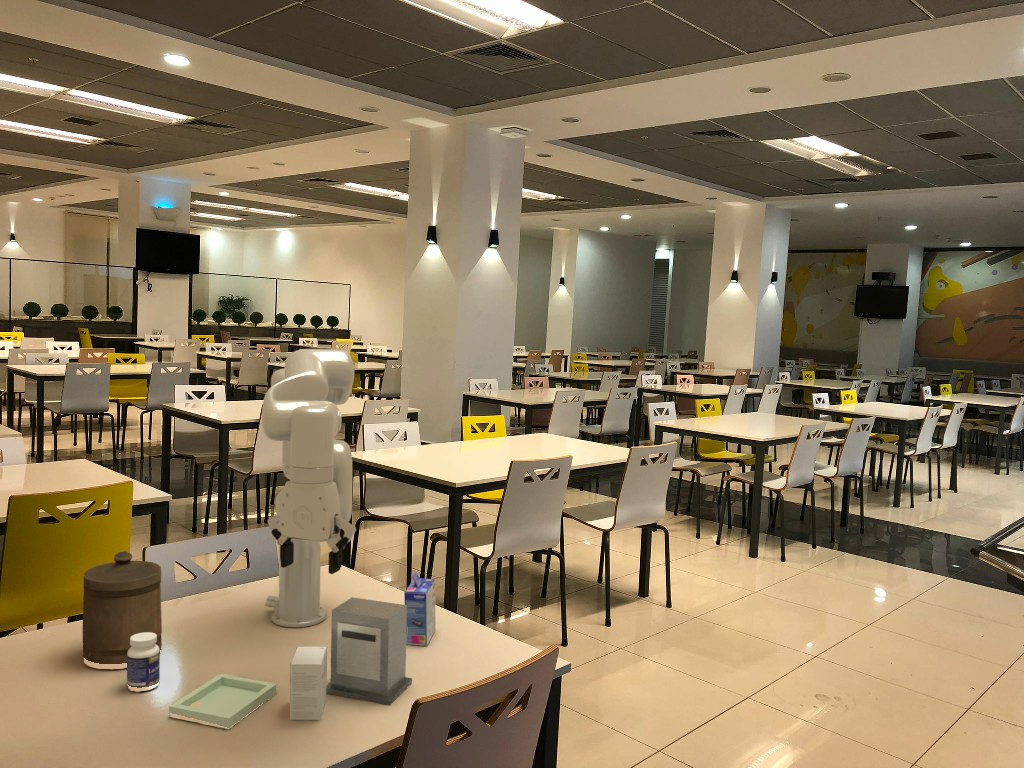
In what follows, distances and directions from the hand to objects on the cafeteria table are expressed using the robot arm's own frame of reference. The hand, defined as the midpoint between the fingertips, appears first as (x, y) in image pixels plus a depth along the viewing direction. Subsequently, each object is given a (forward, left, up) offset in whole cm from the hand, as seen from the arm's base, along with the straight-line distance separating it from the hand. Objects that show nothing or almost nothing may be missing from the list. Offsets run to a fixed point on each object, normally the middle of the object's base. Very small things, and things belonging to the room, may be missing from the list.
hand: (310, 568), depth 149 cm
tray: (-15, -4, -26) cm, 31 cm away
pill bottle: (-34, -3, -27) cm, 43 cm away
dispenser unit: (+6, +12, -26) cm, 30 cm away
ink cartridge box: (+5, +39, -27) cm, 47 cm away
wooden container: (-48, +7, -27) cm, 55 cm away
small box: (0, 0, -27) cm, 27 cm away
